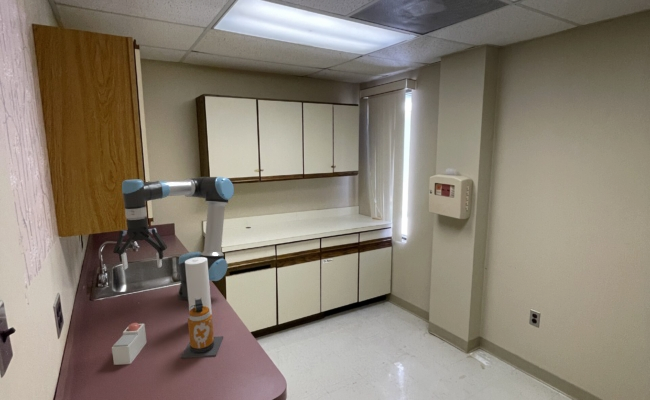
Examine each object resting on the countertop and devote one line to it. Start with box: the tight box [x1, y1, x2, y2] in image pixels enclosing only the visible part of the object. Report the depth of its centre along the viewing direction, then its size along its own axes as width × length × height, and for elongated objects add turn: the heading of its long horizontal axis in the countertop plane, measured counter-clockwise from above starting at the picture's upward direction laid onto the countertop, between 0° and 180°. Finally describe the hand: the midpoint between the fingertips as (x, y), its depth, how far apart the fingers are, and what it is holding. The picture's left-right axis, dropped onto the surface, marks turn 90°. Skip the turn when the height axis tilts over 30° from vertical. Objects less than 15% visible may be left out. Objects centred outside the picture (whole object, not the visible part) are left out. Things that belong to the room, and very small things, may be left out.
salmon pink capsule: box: [127, 322, 140, 331], centre depth 139 cm, size 4×4×8 cm
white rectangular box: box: [111, 323, 147, 366], centre depth 136 cm, size 14×6×8 cm, turn 4°
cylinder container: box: [185, 257, 213, 316], centre depth 157 cm, size 9×9×30 cm
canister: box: [187, 299, 215, 352], centre depth 137 cm, size 9×11×20 cm
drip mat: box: [180, 335, 224, 359], centre depth 139 cm, size 13×13×1 cm
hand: (142, 267), depth 144 cm, fingers open, 13 cm apart
